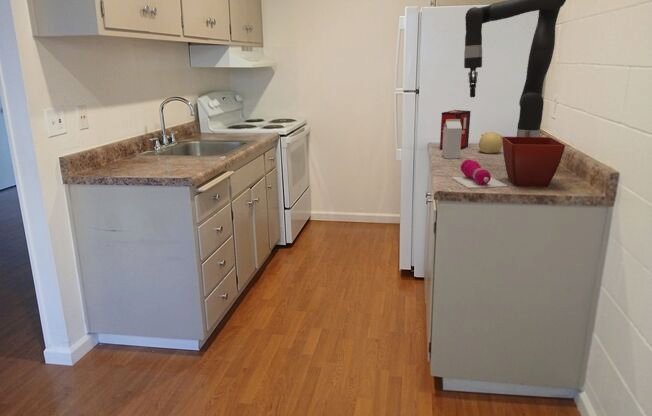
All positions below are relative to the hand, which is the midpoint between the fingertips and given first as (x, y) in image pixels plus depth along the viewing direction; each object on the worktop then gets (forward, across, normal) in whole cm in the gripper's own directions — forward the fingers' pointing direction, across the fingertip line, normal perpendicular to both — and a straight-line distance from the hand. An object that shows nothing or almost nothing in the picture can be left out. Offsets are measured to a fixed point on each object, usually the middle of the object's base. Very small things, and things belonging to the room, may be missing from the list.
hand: (472, 97), depth 224 cm
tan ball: (+31, +37, -10) cm, 49 cm away
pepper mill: (+27, -23, +2) cm, 36 cm away
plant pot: (+33, -29, -21) cm, 49 cm away
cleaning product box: (+30, +46, +8) cm, 56 cm away
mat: (+32, -33, -2) cm, 46 cm away
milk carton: (+30, +19, +10) cm, 37 cm away
